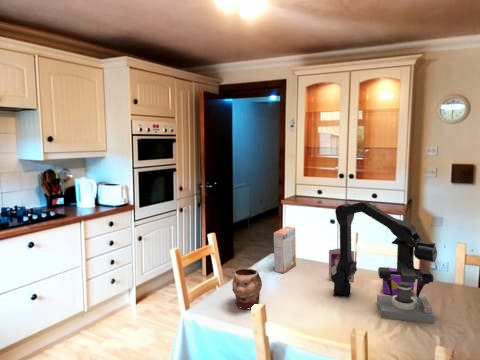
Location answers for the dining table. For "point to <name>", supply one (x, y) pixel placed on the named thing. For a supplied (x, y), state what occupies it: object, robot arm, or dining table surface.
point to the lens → (404, 292)
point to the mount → (405, 309)
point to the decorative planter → (246, 287)
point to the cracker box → (284, 249)
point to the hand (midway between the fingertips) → (404, 295)
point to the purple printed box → (336, 262)
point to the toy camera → (395, 283)
